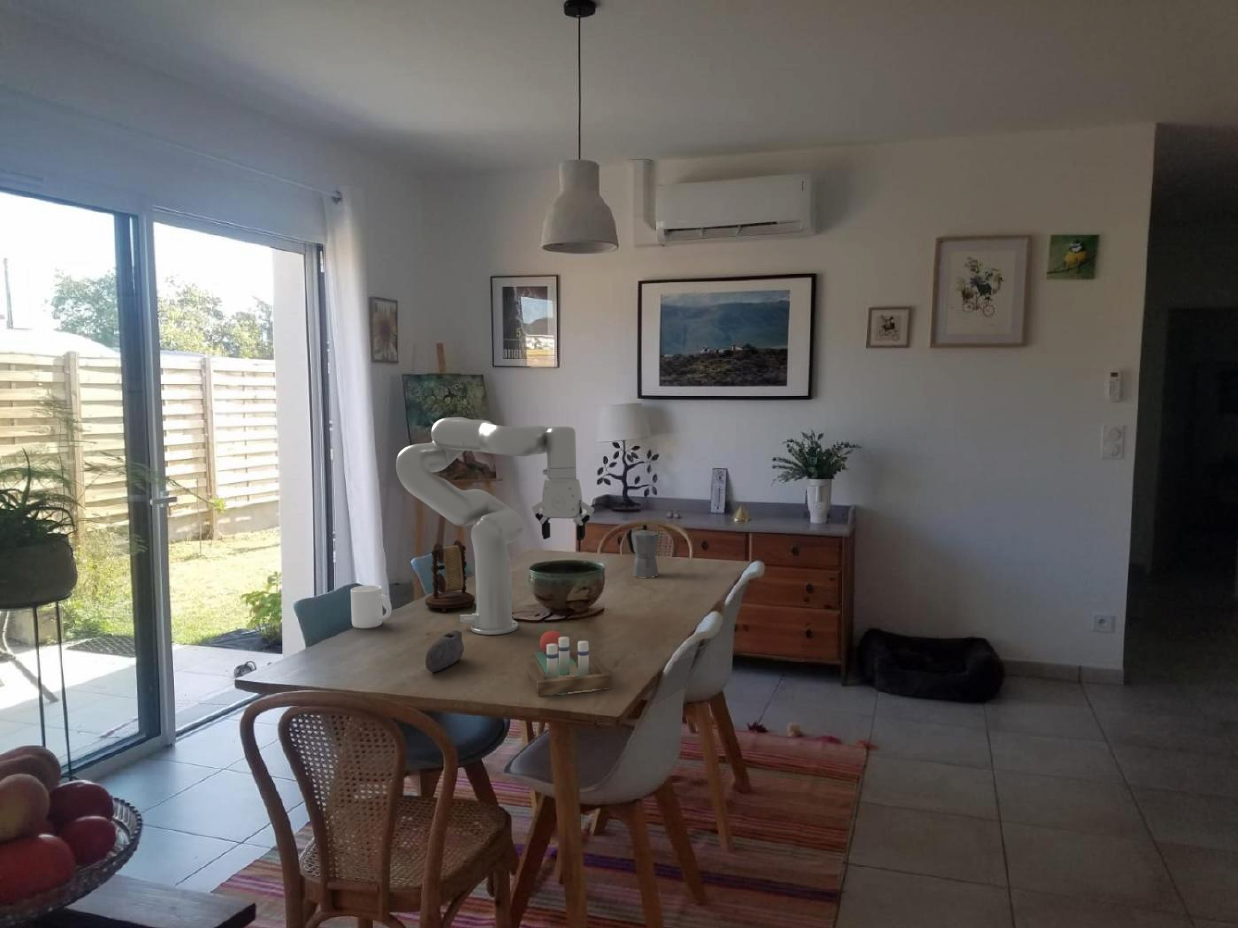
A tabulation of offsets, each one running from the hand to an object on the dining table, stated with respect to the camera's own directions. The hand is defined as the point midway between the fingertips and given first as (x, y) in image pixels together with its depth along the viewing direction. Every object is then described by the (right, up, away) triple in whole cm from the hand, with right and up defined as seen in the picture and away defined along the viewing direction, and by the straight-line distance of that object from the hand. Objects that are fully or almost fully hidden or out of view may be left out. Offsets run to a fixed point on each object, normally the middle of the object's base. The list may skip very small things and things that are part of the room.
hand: (563, 539), depth 217 cm
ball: (-2, -24, -15) cm, 28 cm away
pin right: (+7, -28, -32) cm, 44 cm away
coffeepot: (+23, -20, +74) cm, 80 cm away
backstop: (+3, -29, -34) cm, 44 cm away
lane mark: (+1, -28, -27) cm, 39 cm away
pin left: (0, -29, -34) cm, 45 cm away
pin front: (+2, -28, -29) cm, 41 cm away
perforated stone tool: (-27, -28, -22) cm, 45 cm away
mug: (-54, -26, +14) cm, 61 cm away
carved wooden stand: (-36, -24, +33) cm, 55 cm away
